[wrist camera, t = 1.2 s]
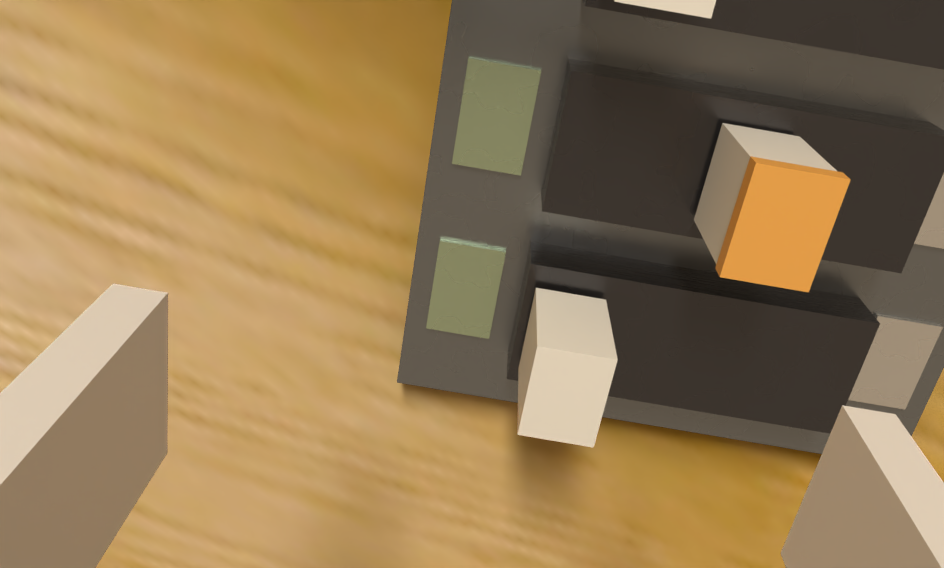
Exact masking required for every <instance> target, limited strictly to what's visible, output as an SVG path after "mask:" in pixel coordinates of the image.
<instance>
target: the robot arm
mask: <svg viewBox="0 0 944 568" xmlns="http://www.w3.org/2000/svg"><path fill="white" fill-rule="evenodd" d="M167 414H168V293H167V292H161V291H155V290H149V289H143V288H137V287H131V286H125V285H119V284H112V285H111V286H110V287H109V288H108V289H107V290H106V291H105V292H104V293H103V294H102V295H101V296H100V297H99V298H98V299H96V300H95V301H94V302H93V303H92V304H91V305H90V306H89V307H88V308H87V309H86V310H85V311H84V312H83V313H82V314H81V315H80V316H79V317H78V318H77V319H76V320H75V321H74V322H73V323H72V324H71V325H70V326H69V327H68V328H67V329H66V330H65V331H64V332H63V333H61V334H60V335H59V336H58V337H57V338H56V339H55V340H54V341H53V342H52V343H51V344H50V345H49V346H48V347H47V348H46V349H45V350H44V351H43V352H42V353H41V354H40V355H39V356H38V357H37V358H36V359H35V360H34V361H33V362H32V363H31V364H30V365H29V366H28V367H26V368H25V369H24V370H23V371H22V372H21V373H20V374H19V375H18V376H17V377H16V378H15V379H14V380H13V381H12V382H11V383H10V384H9V385H8V386H7V387H6V388H5V389H4V390H3V391H2V392H1V393H0V568H96V566H97V564H98V563H99V561H100V560H101V558H102V556H103V555H104V553H105V552H106V550H107V548H108V547H109V545H110V544H111V542H112V540H113V539H114V537H115V536H116V534H117V532H118V531H119V529H120V528H121V526H122V524H123V523H124V521H125V520H126V518H127V517H128V515H129V513H130V512H131V510H132V509H133V507H134V505H135V504H136V502H137V501H138V499H139V497H140V496H141V494H142V493H143V491H144V489H145V488H146V486H147V485H148V483H149V481H150V480H151V478H152V477H153V475H154V473H155V472H156V470H157V469H158V467H159V465H160V464H161V462H162V461H163V459H164V458H165V456H166V454H167ZM781 556H782V558H783V561H784V563H785V566H786V568H944V483H943V481H942V480H941V478H940V477H939V475H938V474H937V473H936V471H935V470H934V468H933V467H932V465H931V464H930V463H929V461H928V460H927V458H926V457H925V455H924V454H923V453H922V451H921V450H920V448H919V447H918V445H917V444H916V443H915V441H914V440H913V438H912V437H911V435H910V434H909V433H908V431H907V430H906V428H905V427H904V425H903V424H902V423H901V421H900V420H899V418H898V417H897V415H896V414H891V413H885V412H879V411H873V410H867V409H861V408H855V407H849V406H843V405H842V407H841V409H840V412H839V414H838V417H837V419H836V421H835V424H834V426H833V429H832V431H831V433H830V436H829V438H828V441H827V443H826V445H825V448H824V450H823V453H822V455H821V457H820V460H819V462H818V465H817V467H816V469H815V472H814V474H813V477H812V479H811V481H810V484H809V486H808V489H807V491H806V493H805V496H804V498H803V501H802V503H801V505H800V508H799V510H798V513H797V515H796V517H795V520H794V522H793V525H792V527H791V529H790V532H789V534H788V537H787V539H786V541H785V544H784V546H783V549H782V551H781Z"/></svg>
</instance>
